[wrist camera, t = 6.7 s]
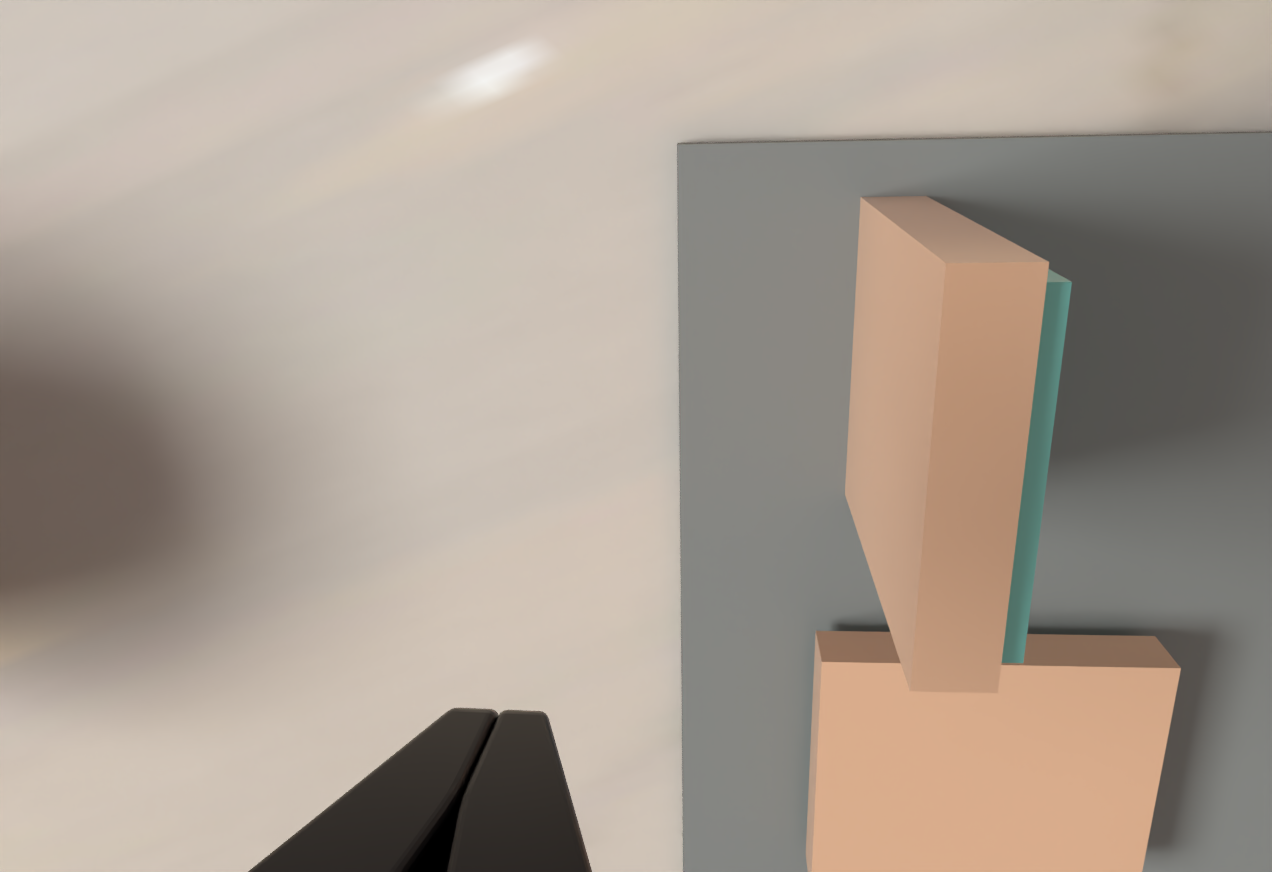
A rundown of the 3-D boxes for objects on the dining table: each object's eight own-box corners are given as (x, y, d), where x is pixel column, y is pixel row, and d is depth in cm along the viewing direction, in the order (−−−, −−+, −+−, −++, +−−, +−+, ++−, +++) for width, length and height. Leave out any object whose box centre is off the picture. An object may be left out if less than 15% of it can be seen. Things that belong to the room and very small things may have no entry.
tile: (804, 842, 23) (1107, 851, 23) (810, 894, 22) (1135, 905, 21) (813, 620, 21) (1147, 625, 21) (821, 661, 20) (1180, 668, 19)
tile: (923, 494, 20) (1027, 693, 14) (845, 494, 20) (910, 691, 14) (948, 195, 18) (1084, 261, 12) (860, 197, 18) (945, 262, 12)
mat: (1576, 921, 23) (1591, 935, 23) (683, 891, 25) (683, 903, 24) (1888, 119, 17) (1914, 120, 17) (677, 143, 19) (677, 144, 18)
